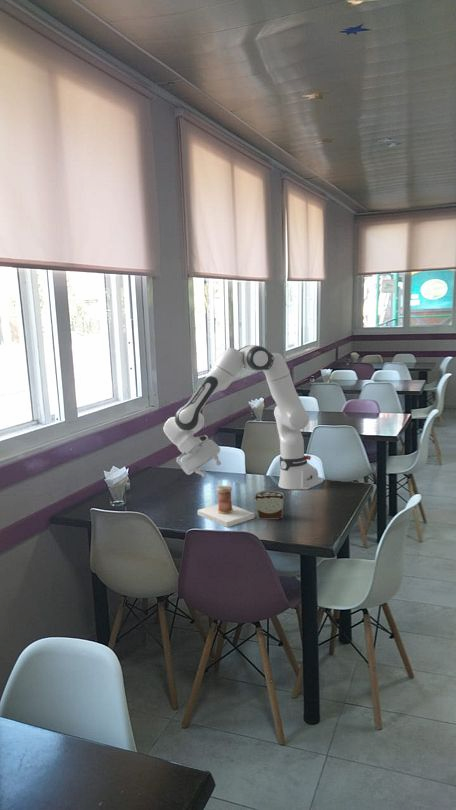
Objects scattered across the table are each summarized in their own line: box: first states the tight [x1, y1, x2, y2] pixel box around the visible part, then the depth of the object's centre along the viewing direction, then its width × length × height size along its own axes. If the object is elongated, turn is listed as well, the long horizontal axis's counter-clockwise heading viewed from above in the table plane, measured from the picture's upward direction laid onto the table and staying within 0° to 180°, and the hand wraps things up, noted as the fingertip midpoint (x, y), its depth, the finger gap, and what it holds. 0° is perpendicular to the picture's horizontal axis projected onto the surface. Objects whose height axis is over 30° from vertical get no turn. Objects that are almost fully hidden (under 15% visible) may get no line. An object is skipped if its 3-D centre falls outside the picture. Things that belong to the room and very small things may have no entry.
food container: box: [253, 490, 286, 520], centre depth 229 cm, size 12×6×10 cm, turn 84°
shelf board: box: [197, 503, 255, 528], centre depth 232 cm, size 14×20×2 cm
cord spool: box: [216, 485, 233, 514], centre depth 231 cm, size 6×6×10 cm
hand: (212, 470), depth 246 cm, fingers open, 8 cm apart
